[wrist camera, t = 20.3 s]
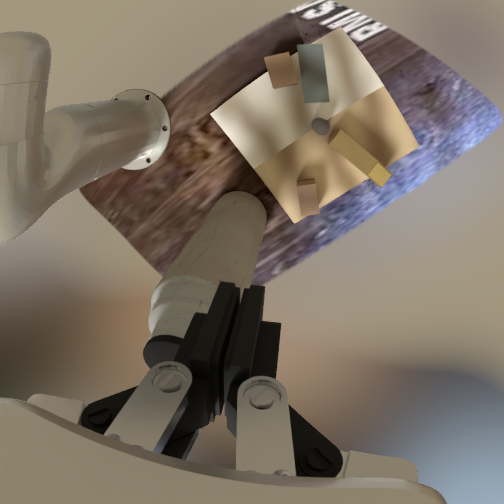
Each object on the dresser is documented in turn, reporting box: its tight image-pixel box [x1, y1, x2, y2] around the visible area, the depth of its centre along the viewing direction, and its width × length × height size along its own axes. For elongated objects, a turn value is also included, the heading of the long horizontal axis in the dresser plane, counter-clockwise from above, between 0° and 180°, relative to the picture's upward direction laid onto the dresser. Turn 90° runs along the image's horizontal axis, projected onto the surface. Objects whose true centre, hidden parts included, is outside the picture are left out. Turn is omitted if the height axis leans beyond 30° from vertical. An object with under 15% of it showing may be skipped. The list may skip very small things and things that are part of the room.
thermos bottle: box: [143, 191, 267, 369], centre depth 32 cm, size 8×8×28 cm
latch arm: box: [327, 128, 392, 188], centre depth 35 cm, size 8×2×3 cm, turn 56°
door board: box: [211, 27, 419, 224], centre depth 34 cm, size 21×20×5 cm
